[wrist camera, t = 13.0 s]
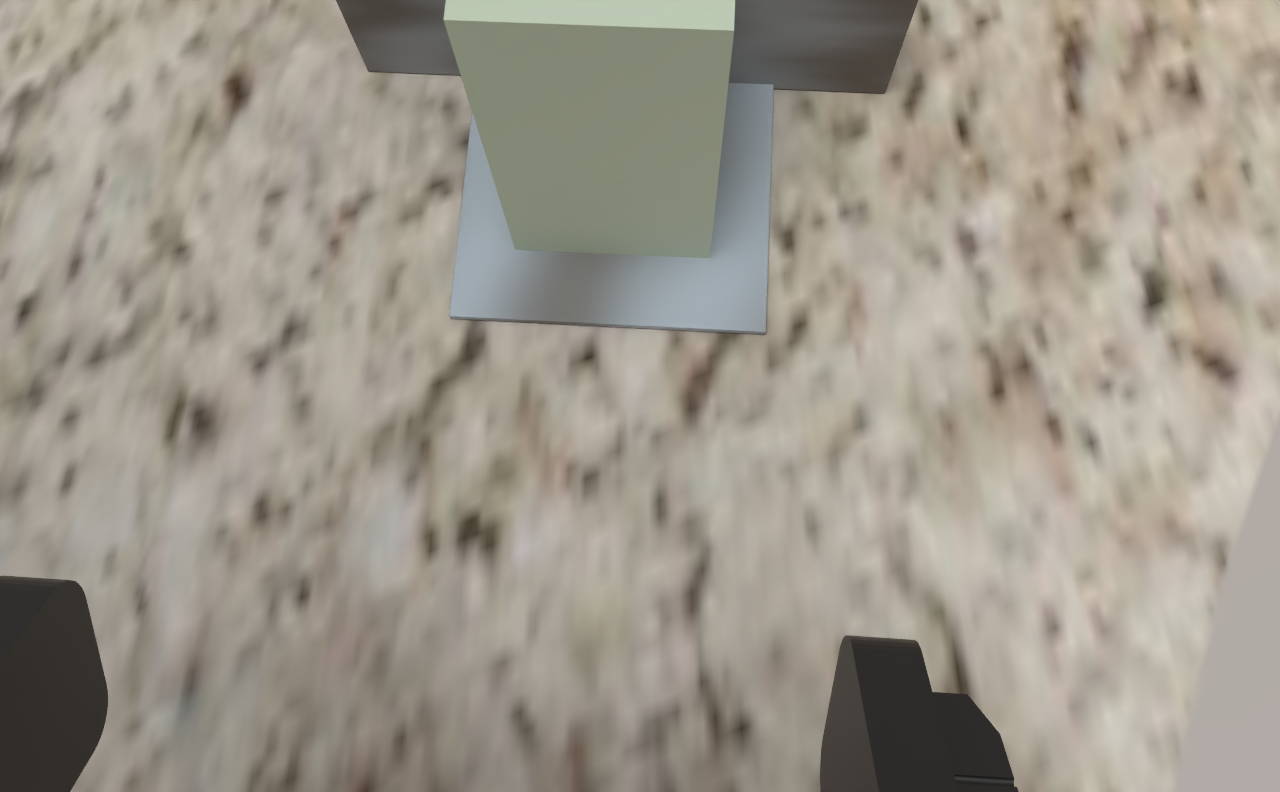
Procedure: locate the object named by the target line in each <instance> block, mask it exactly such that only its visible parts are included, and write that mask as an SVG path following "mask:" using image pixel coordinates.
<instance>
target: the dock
mask: <svg viewBox="0 0 1280 792" xmlns="http://www.w3.org/2000/svg"><path fill="white" fill-rule="evenodd" d="M336 1H337V3H338V6H339V8H340V10H341V12H342V14H343V17H344V19H345V21H346V23H347V25H348V28H349V30H350V32H351V34H352V36H353V39H354V41H355V43H356V45H357V47H358V50H359V52H360V54H361V56H362V58H363V61H364V63H365V65H366V67H367V69H368V71H376V72H399V73H422V74H445V75H461V74H460V71H459V68H458V65H457V62H456V58H455V55H454V52H453V49H452V46H451V42H450V39H449V36H448V33H447V30H446V26H445V23H444V11H445V2H446V0H336ZM917 2H918V0H735V19H734V36H733V45H732V55H731V64H730V74H729V83H728V92H727V102H726V111H725V121H724V130H723V139H722V149H721V158H720V167H719V177H718V186H717V196H716V205H715V214H714V224H713V233H712V243H711V252H710V258H691V257H668V256H644V255H621V254H598V253H575V252H552V251H529V250H515V247H514V244H513V241H512V237H511V234H510V231H509V228H508V225H507V221H506V218H505V215H504V212H503V209H502V205H501V202H500V199H499V196H498V193H497V189H496V186H495V183H494V180H493V177H492V173H491V170H490V167H489V164H488V161H487V157H486V154H485V151H484V148H483V145H482V141H481V138H480V135H479V132H478V129H477V125H476V122H475V119H474V116H473V113H472V117H471V126H470V135H469V144H468V153H467V162H466V171H465V180H464V189H463V197H462V206H461V215H460V224H459V233H458V242H457V251H456V260H455V269H454V278H453V287H452V296H451V305H450V314H449V316H450V318H451V319H466V320H486V321H506V322H526V323H546V324H566V325H586V326H605V327H625V328H645V329H665V330H685V331H705V332H725V333H745V334H764V335H765V333H766V308H767V276H768V243H769V211H770V179H771V146H772V114H773V89H794V90H817V91H840V92H863V93H885V91H886V88H887V86H888V83H889V80H890V77H891V74H892V72H893V69H894V66H895V63H896V61H897V58H898V55H899V52H900V49H901V47H902V44H903V41H904V38H905V35H906V33H907V30H908V27H909V24H910V22H911V19H912V16H913V13H914V10H915V8H916V5H917Z"/></svg>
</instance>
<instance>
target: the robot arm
mask: <svg viewBox="0 0 1280 792" xmlns="http://www.w3.org/2000/svg"><path fill="white" fill-rule="evenodd" d="M107 707H108V690H107V685H106V680H105V676H104V672H103V668H102V663H101V659H100V655H99V651H98V647H97V642H96V638H95V634H94V630H93V626H92V621H91V617H90V613H89V609H88V605H87V600H86V597H85V594H84V591H83V589H82V587H81V586H80V585H79V584H78V583H77V582H75V581H71V580H58V579H43V578H29V577H14V576H0V792H70V791H71V789H72V787H73V786H74V784H75V782H76V781H77V779H78V777H79V776H80V774H81V772H82V771H83V769H84V767H85V766H86V764H87V762H88V761H89V759H90V757H91V756H92V754H93V752H94V750H95V748H96V747H97V745H98V742H99V740H100V738H101V735H102V732H103V728H104V725H105V720H106V715H107ZM820 785H821V792H1018V789H1017V787H1014V777H1013V774H1012V770H1011V767H1010V764H1009V761H1008V758H1007V755H1006V752H1005V748H1004V745H1003V742H1002V739H1001V736H1000V734H999V732H998V731H997V730H996V729H995V728H994V726H993V725H992V724H991V723H990V721H989V720H988V719H987V718H986V717H985V715H984V714H983V713H982V712H981V710H980V709H979V708H978V707H977V706H976V704H975V703H974V702H973V701H972V699H971V698H970V697H969V696H968V695H967V694H953V693H938V692H932V689H931V685H930V681H929V678H928V674H927V670H926V666H925V662H924V658H923V655H922V651H921V648H920V646H919V644H918V642H917V641H915V640H906V639H891V638H876V637H862V636H845V637H844V638H843V640H842V643H841V646H840V651H839V656H838V661H837V666H836V672H835V677H834V682H833V687H832V693H831V698H830V703H829V708H828V714H827V719H826V724H825V730H824V735H823V741H822V749H821V765H820Z"/></svg>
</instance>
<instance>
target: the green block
mask: <svg viewBox="0 0 1280 792" xmlns="http://www.w3.org/2000/svg"><path fill="white" fill-rule="evenodd" d="M734 19H735V0H446V2H445V11H444V23H445V26H446V30H447V33H448V36H449V39H450V42H451V46H452V49H453V52H454V55H455V58H456V62H457V65H458V68H459V71H460V74H461V78H462V81H463V84H464V87H465V90H466V94H467V97H468V100H469V103H470V106H471V109H472V113H473V116H474V119H475V122H476V125H477V129H478V132H479V135H480V138H481V141H482V145H483V148H484V151H485V154H486V157H487V161H488V164H489V167H490V170H491V173H492V177H493V180H494V183H495V186H496V189H497V193H498V196H499V199H500V202H501V205H502V209H503V212H504V215H505V218H506V221H507V225H508V228H509V231H510V234H511V237H512V241H513V244H514V247H515V250H529V251H552V252H575V253H598V254H621V255H644V256H668V257H691V258H710V252H711V243H712V233H713V224H714V214H715V205H716V196H717V186H718V177H719V167H720V158H721V149H722V139H723V130H724V121H725V111H726V102H727V92H728V83H729V74H730V64H731V55H732V45H733V36H734Z"/></svg>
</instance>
